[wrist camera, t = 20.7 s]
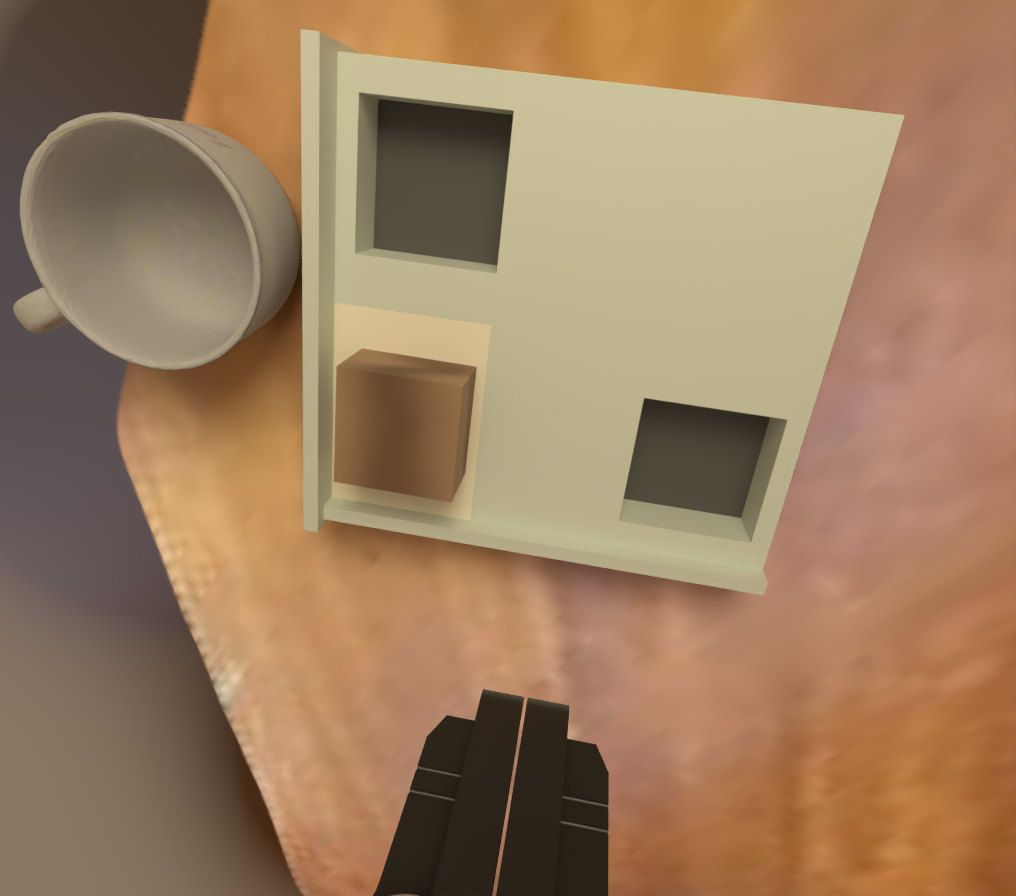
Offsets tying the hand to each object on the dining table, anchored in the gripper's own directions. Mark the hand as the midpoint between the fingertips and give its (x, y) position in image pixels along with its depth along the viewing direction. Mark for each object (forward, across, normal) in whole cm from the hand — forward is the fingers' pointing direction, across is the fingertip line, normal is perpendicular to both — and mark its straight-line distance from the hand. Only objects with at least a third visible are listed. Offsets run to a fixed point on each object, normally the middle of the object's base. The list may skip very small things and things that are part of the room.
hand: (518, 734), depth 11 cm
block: (+23, +8, +4) cm, 25 cm away
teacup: (+27, +21, -3) cm, 34 cm away
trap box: (+26, +1, -2) cm, 27 cm away
